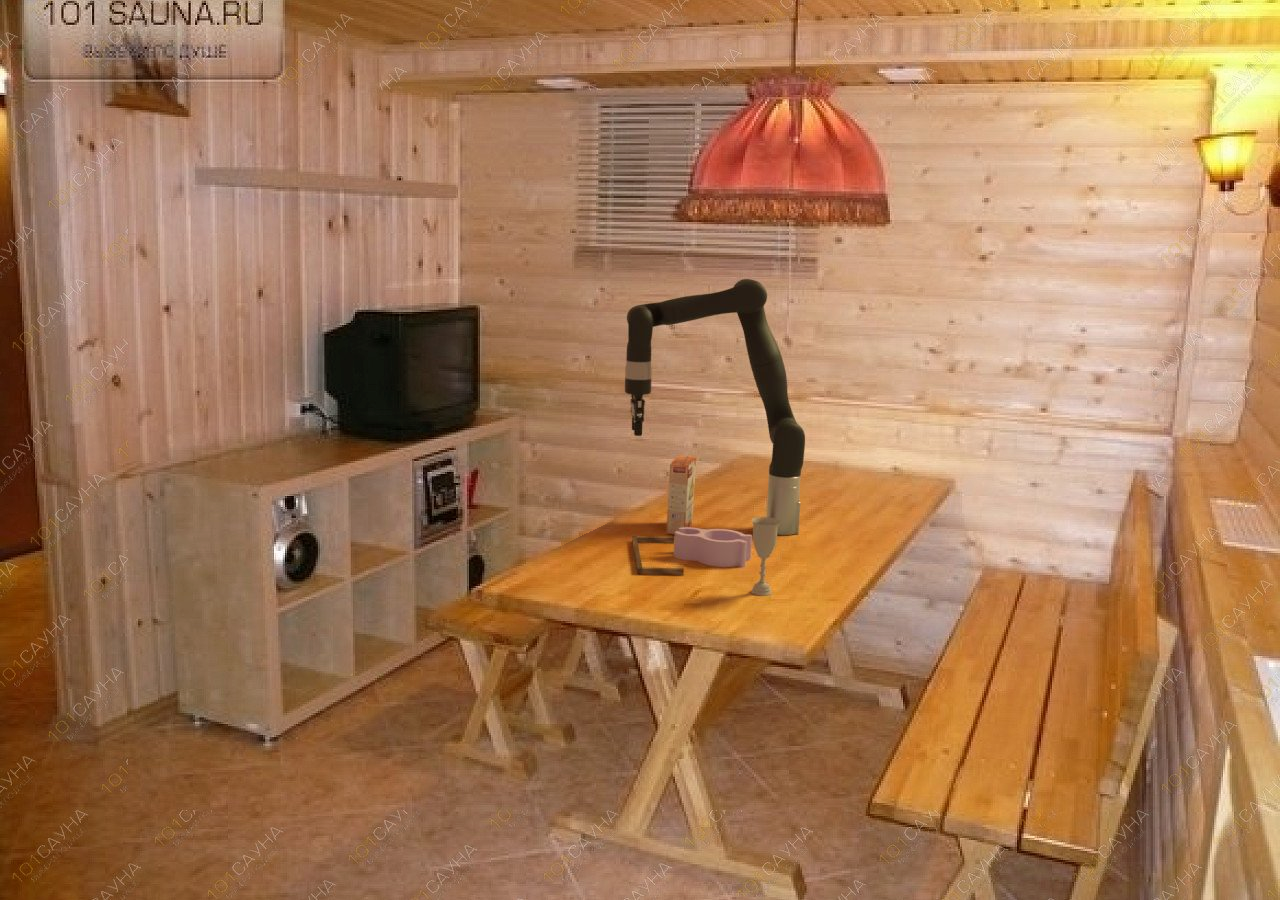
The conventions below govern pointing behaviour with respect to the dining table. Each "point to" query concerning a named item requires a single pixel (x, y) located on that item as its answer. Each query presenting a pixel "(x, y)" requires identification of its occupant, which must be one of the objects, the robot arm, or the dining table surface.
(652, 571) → the walnut frame
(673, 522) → the cracker box
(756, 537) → the chalice
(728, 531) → the clip
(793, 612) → the dining table surface
